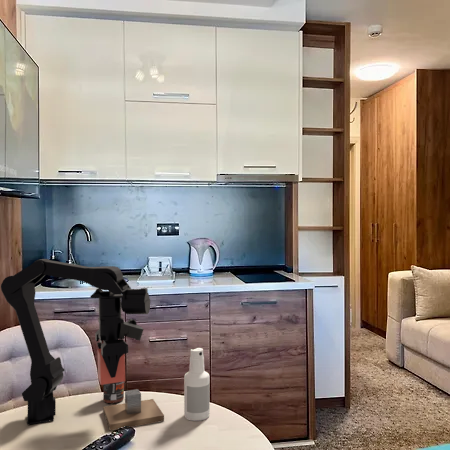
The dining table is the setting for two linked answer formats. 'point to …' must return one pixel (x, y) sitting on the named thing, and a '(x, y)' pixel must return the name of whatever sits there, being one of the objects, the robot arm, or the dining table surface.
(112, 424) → the board
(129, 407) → the post
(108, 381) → the salmon foam cube
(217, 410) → the dining table surface
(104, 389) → the supplement bottle
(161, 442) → the dining table surface
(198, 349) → the spray bottle
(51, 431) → the dining table surface
